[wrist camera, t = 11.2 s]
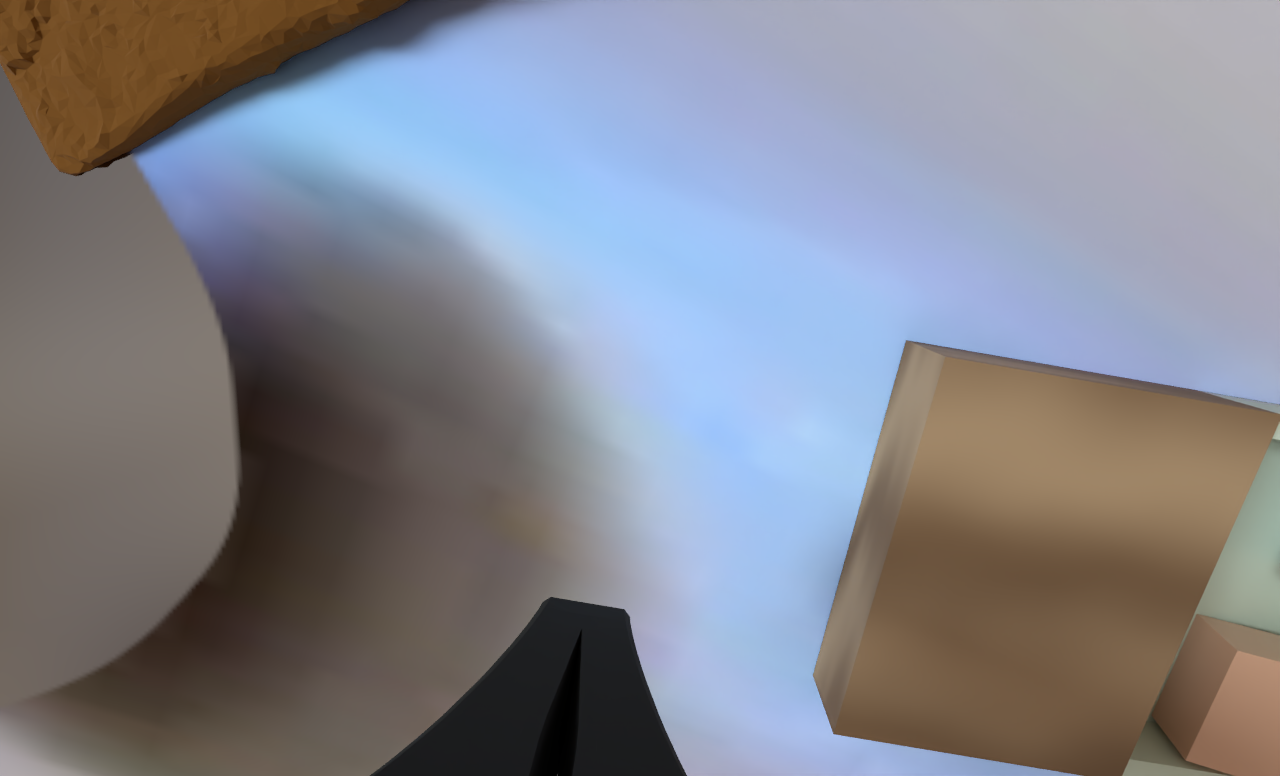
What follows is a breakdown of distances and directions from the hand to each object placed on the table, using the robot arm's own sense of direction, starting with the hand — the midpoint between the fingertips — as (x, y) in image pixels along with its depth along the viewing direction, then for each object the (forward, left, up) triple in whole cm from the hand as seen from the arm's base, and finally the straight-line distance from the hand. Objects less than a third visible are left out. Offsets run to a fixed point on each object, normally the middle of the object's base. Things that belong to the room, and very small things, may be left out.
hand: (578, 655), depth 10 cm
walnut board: (-1, -12, -10) cm, 16 cm away
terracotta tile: (-4, -21, -7) cm, 22 cm away
